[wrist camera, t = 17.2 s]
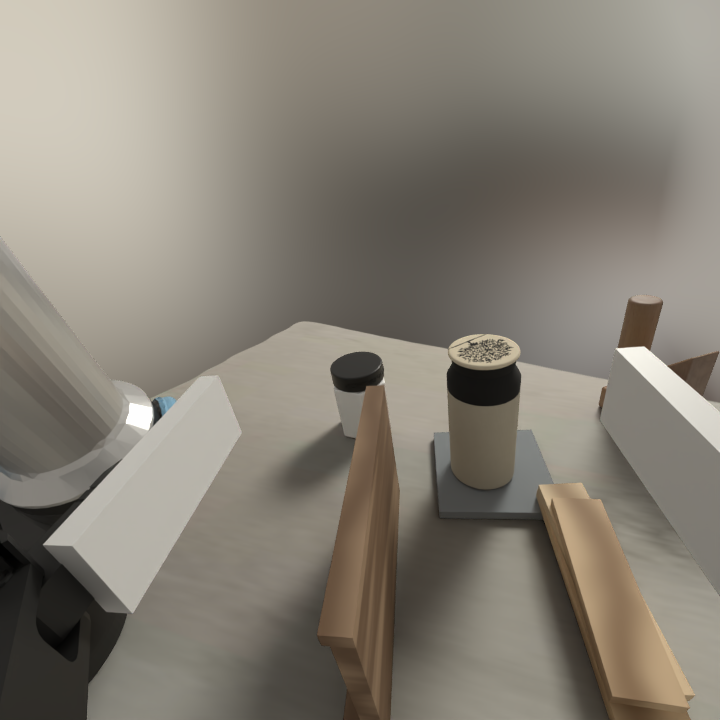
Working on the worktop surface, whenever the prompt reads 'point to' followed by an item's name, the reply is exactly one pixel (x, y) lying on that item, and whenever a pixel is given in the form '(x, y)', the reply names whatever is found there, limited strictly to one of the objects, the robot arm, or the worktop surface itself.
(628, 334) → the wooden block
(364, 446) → the wooden board
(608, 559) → the offcut stack
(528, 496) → the mat
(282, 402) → the worktop surface
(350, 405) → the jar
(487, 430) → the travel mug
